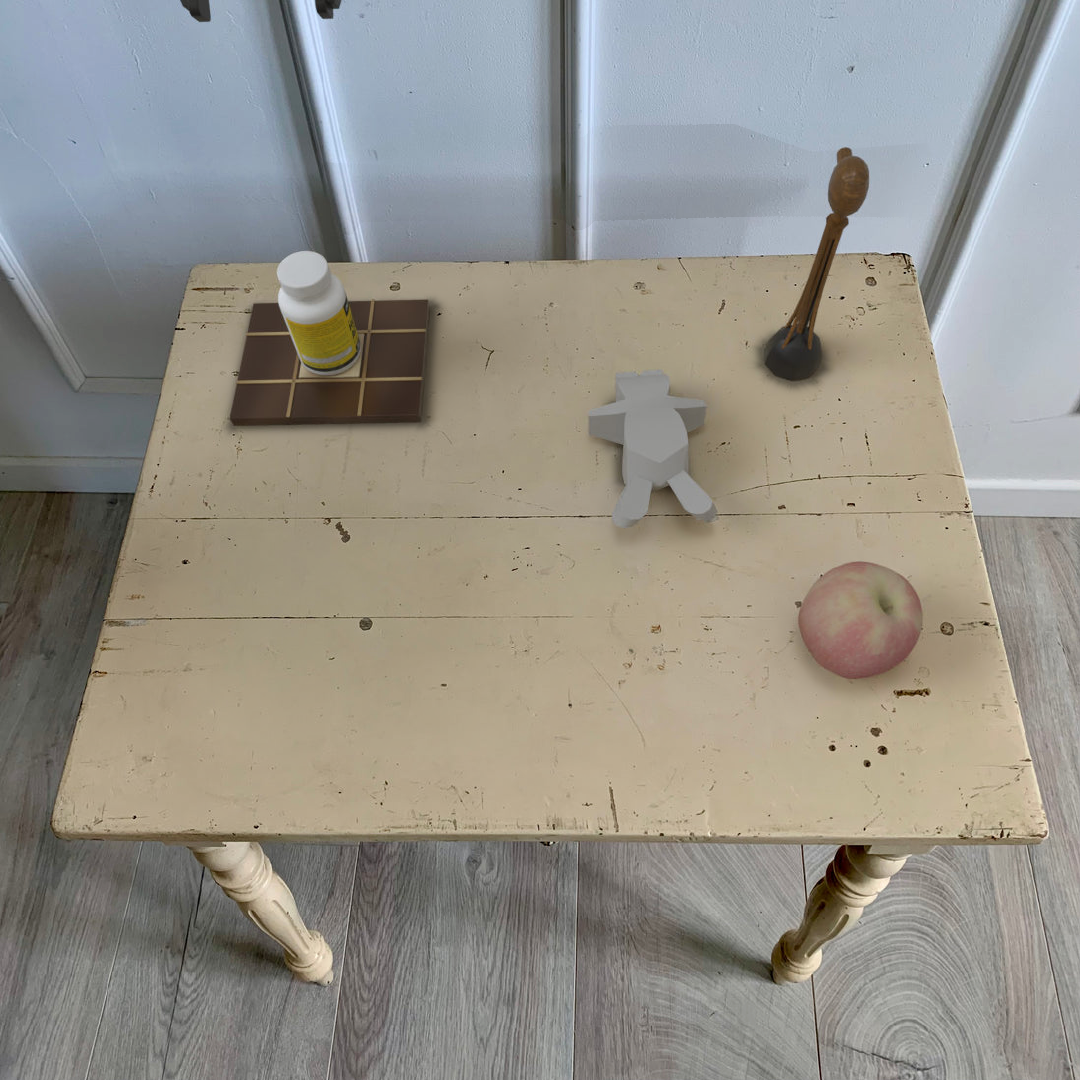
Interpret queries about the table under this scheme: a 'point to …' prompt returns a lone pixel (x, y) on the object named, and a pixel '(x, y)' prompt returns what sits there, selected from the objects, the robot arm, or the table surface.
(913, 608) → the apple
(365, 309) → the board
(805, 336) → the wooden tabletop sculpture
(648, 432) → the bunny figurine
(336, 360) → the supplement bottle
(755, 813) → the table surface
